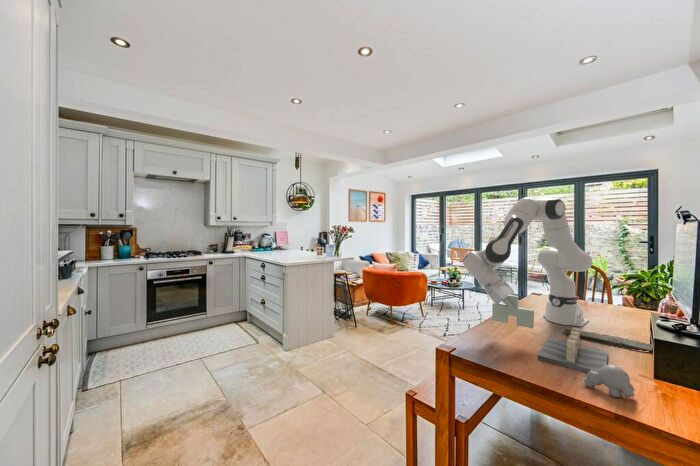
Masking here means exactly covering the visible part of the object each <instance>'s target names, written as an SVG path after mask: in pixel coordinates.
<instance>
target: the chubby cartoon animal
mask: <svg viewBox="0 0 700 466" xmlns="http://www.w3.org/2000/svg"><path fill="white" fill-rule="evenodd" d="M589 369H590V371H588V373H587V374H586V375H587V376H584V375H583V374H582V375H581V379H582V381H583V382H584V384H585V386H587V387H589V388H595V386H602V385H604V386H605V387H606V388H608V392H609V395H610V396H611V397H612V398H620V397H621V396H624V398H632V397H635V393H634V392H635V388H634V385H633V384H632V383H631V378H630V376H629V374H628V372H626V371H625V369H623V368H622V367H621V366H619V365H618V366H617V365H613V364H607V365H605V366H603V367H601V369H600V370H599V372H596V371H593V370H592V369H591V368H589Z"/></svg>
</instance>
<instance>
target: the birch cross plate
mask: <svg viewBox="0 0 700 466" xmlns="http://www.w3.org/2000/svg"><path fill="white" fill-rule="evenodd" d="M571 329H572V330H571V335H569V336H568V338H567V340H566V341H564V340H559V339H554V338H550V337H548V338H547V339H546V341H545V343H544V345H543V346H542V347H541V349H540V350H539V352H538V354H537V360H539V361H543V362H546V363H550V364H553V365H557V366H562V367H564V368H565V367H566V368H569V369H573V370H576V371H580V372H583V373H587V374H588V371H590V369H589V368H591V369H592V370H593V371H596V372H599V370H600V369H601V367H603V366H605V365H608V352H609V351H608V350H604V349H599V348H595V347H591V346H586V345H581V344H580V340H581V339H580V331H581V328H578V327H572V328H571Z"/></svg>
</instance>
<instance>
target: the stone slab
mask: <svg viewBox="0 0 700 466" xmlns="http://www.w3.org/2000/svg"><path fill="white" fill-rule="evenodd" d="M571 330H572V328H571V329H570V328H564V330H563V333H565V335H567V336H568V337H569V335H571ZM580 340H583V341H588V342H589V341H590V342H593V343H598V344H603V345H608V346H611V345H613V346H612V347H616V346H618V347H617V348H622V347H624V348H623V349H626V348H629V349H628V350H631V349H635V350H642V351H653V350H652V349H653V348H652V347H653V345H652V344H651V343H650V344H649V343H646V342H641V341H636V340H632V339H629V338H625V337H621V336H614V335H609V334H603V333H602V334H601V333H596V332H591V331H584V330H580ZM635 350H634V351H635Z"/></svg>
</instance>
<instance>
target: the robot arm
mask: <svg viewBox="0 0 700 466" xmlns="http://www.w3.org/2000/svg"><path fill="white" fill-rule="evenodd" d="M532 221H541V222H542V223H541V224H542V228H543V233H544V238H545V241H546V243H548V244H549V245H550V246H552V247H553V248H546V249H541V250H540V252H539V253H538V255H537V260H538V263H539V265H540V266H542V268H544V270H545V272H546V273H547V275H548V278H549V294H548V301H547V302H546V305H545V314H544V313H543V315H542V317H543V318H545V320H547V321H549V322H552V323H554V324H559V325H562V326H563V325H564V326H565V325H566V326H575V327H583V326H584V325H585V324H588V323H589V318H587V317H584V310H583V308H581V307H580V305H578V301H579V299H580V297H579V296H577V295H576V281H574V279H573V278H571V277H570V276H569V275H568V274H567V272H566V271H569V272H577V273H578V272H586V271H589V269H591V268H592V266H593V258H592V256H591V255H590V254H589V253H587V252H586V251H584V250H583V249H582V248H580V247H579V246H578V244H576V242H575V240H574V239H573V236H572V234H571V231H570V225H569V222H568V218H567V216H566V204H565V202H564V201H563V200H562V199H561V198H557V197H551V198H538V199H537V198H535V199H532V198H531V197H522V198H520V199H519V200H518V201H517V202H516V203H514V205H513V206H512V207H511V208H510V210H509V211H508V213H507V214H506V216H505V218H504V220H503V229H502V230H501V232H500V233H499V235H498V236H497V237H496V238H495V239H493V240H491V241H490V242H488V244H487V245H486V246H485V249H483V250H478V251H477V250H476V251H473V250H472V251H470V252H468V254H466V255H465V257H464V258H463V260H462V264H463V266H464V267H465V269H466V270H467V271H468V273H469V274H470V275H471V276H472V277H473V278H474V279H476V281H477V283H478V284H479V285H480V286H481V287H482V288H483V289H484V290H485V292H486V294H487V295H488V297H489V298H490V299H491V300H492V302H493V303H496V304H501V303H503V305H507V306H508V307H509V308H510V309H512V308H513V307H514V305H513V304H512V303H511V302H509V301H508V299H507V297H508V295H514V294H515V291H514V289H513V287H511V286H510V284H509V283H508V282H507V281H506V280H505V277H504V276H503V275H501V274H498V273H496V272H495V270H496V269H499V268H500V267H501V266H502V265H503V264H505V261H507V260H508V259H509V257H511V252H512V251H511V250H512V245H513V242H514V241H515V239H516V238H517V237H518V234H522V233H524V231H526V230H527V229H528V228H529V226H530V224H531V223H532Z"/></svg>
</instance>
